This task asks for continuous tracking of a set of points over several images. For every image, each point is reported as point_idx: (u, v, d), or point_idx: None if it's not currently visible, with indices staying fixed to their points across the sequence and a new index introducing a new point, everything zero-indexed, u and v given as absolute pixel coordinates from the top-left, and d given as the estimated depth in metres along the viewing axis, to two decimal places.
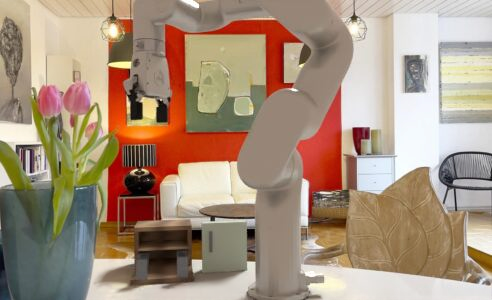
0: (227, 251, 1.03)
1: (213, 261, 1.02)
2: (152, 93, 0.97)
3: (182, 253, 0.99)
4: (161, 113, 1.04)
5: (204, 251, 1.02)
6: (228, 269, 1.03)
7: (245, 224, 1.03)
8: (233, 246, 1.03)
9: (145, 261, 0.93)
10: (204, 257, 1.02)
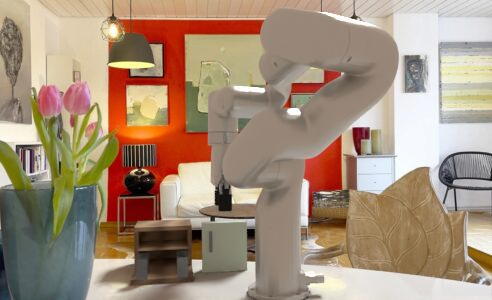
0: (227, 251, 1.03)
1: (213, 261, 1.02)
2: None
3: (182, 253, 0.99)
4: None
5: (204, 251, 1.02)
6: (228, 269, 1.03)
7: (245, 224, 1.03)
8: (233, 246, 1.03)
9: (145, 261, 0.93)
10: (204, 257, 1.02)
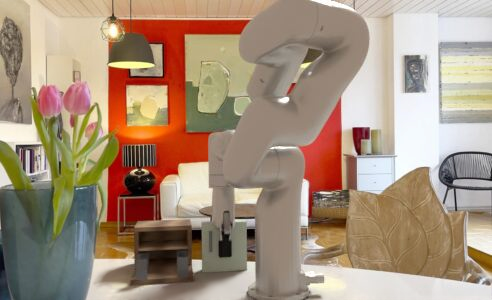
0: None
1: (213, 261, 1.02)
2: None
3: (182, 253, 0.99)
4: None
5: (204, 251, 1.02)
6: (228, 269, 1.03)
7: (245, 224, 1.03)
8: (233, 246, 1.03)
9: (145, 261, 0.93)
10: (204, 256, 1.02)
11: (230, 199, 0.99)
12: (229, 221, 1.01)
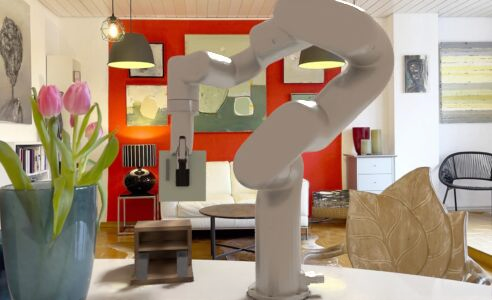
0: None
1: (170, 191, 0.98)
2: None
3: (182, 253, 0.99)
4: None
5: (160, 179, 0.98)
6: (186, 199, 0.98)
7: (204, 153, 0.99)
8: (192, 176, 0.99)
9: (145, 261, 0.93)
10: (160, 185, 0.98)
11: (187, 124, 0.95)
12: (186, 148, 0.96)
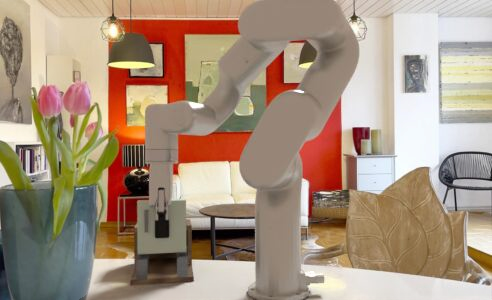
0: None
1: (149, 242, 0.95)
2: None
3: (182, 253, 0.99)
4: None
5: (139, 231, 0.95)
6: (165, 251, 0.96)
7: (184, 203, 0.96)
8: (171, 226, 0.96)
9: (145, 261, 0.93)
10: (139, 237, 0.95)
11: (166, 175, 0.92)
12: (165, 199, 0.94)
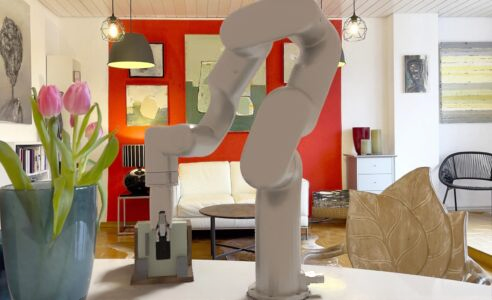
0: None
1: (150, 265, 0.95)
2: None
3: None
4: None
5: (140, 254, 0.95)
6: (166, 273, 0.96)
7: (185, 225, 0.96)
8: (172, 249, 0.96)
9: (145, 261, 0.93)
10: None
11: (166, 198, 0.92)
12: None
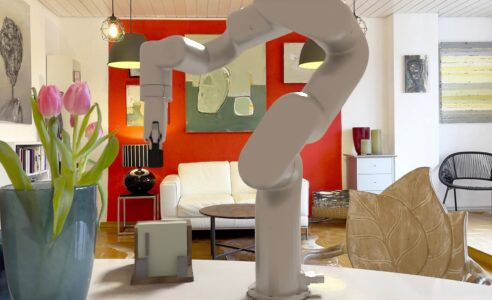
0: (165, 254, 0.96)
1: (150, 265, 0.95)
2: (145, 140, 1.01)
3: None
4: None
5: (140, 254, 0.95)
6: (166, 273, 0.96)
7: (185, 225, 0.96)
8: (172, 249, 0.96)
9: (145, 261, 0.93)
10: None
11: (160, 109, 0.94)
12: None
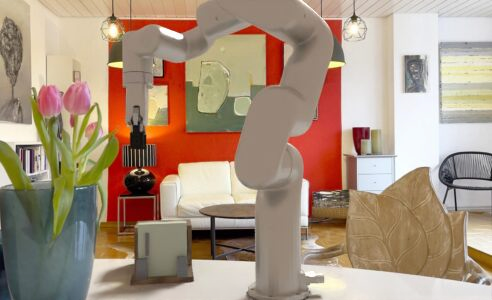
0: (165, 254, 0.96)
1: (150, 265, 0.95)
2: None
3: None
4: None
5: (140, 254, 0.95)
6: (166, 273, 0.96)
7: (185, 225, 0.96)
8: (172, 249, 0.96)
9: (145, 261, 0.93)
10: None
11: (141, 94, 1.01)
12: None
